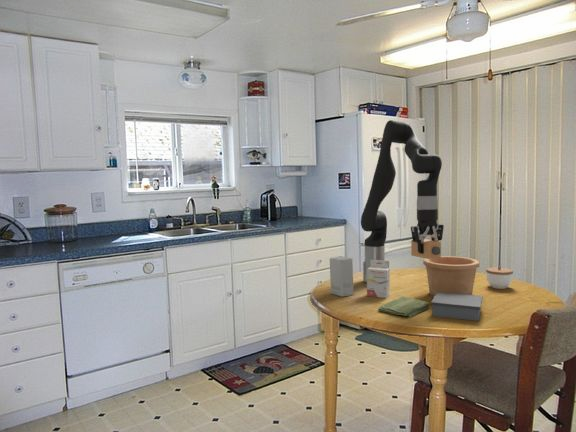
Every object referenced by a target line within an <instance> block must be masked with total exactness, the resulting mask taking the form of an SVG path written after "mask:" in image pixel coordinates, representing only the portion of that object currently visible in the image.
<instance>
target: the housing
mask: <svg viewBox="0 0 576 432" xmlns="http://www.w3.org/2000/svg"><path fill="white" fill-rule="evenodd" d="M410 243H411V246H410V247H411V248H410V249H411V252H410V253H411V255H410V256H413V257H418V258H421V259H425V258H426V259H435V258H441V256H442V250H441V249H442V241H432V240H431V239H426V238H425V239H424V242H423V244H424V253H423V254H420V253H419V252H418V244H417V243H416V242H413V239H411V241H410Z"/></svg>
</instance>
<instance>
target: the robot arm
mask: <svg viewBox="0 0 576 432" xmlns="http://www.w3.org/2000/svg"><path fill="white" fill-rule="evenodd" d="M381 138H382V139H381V143H380V148H379V149H380V151H379V155H378V160H377V164H376V166H375V170H374V174H373V176H372V177H373V178H372V181H371V187H370V190H369V192H368V198H367V200H366V203H365V206H364V208H363V210H362V211H363V212H362V214H361V218H360V225H361V229H362V230H363V231H364V232H371V233H370V235H369V236H368V237H366V238H365V239H364V242H363V243H364V261H363V263H362V268H363V269H362V271H363V272H362V275H363V277H362V282H363V283H366V284H367V269H368V268H369V267H370V260H384V261H386V260H385V255H386V253H385V251H386V249H385V243H386V240H387V232H388V219H387V216H386V214H385V212H384V211H381V210H379V208H380V205H382V203H383V201H384V200H385V198H386V197H387V196H388V195H389V193H390V192H391V190H392V188H393V186H394V183H395V179H396V175H397V174H396V173H397V172H396V167H395V164H394V162H393V159H392V152H391V150H392V144H393V143H394V144H400V145H401V144H404V149H403V150H404V153H405V155H406V156H407V158H408V159H409V160H410V162H411V167H412V170H413V172H414V173H417V174H418V175H419V174H421V175H422V174H428V177H427V178H426V179H422V180H419V181H417V185H416V188H417V190H416V191H417V193H416V194H417V195H416V197H417V198H416V221H417V224H416V225H414V226H410V232H411V240H413V242H416V243H417V244H418V252H419V253H420V254H423V253H424V244H423V242H424V239H426V238H427V236H428V237H430V240H432V241H438V242H441V241H442V240H443V234H444V227H445V226H444V224H440V223H438V222H437V221H438V219H439V213H438V210H439V208H438V205H439V203H438V189H437V188H438V182H439V177H440V173H441V170H442V166H443V164H442V158H441V157H440V155H438V154H432V153H431V154H429V151H428V150H427V148H426V147H425V146H424V145H423V144H422V143H421V142H420V140H419V139H418V136H417V135H416V133H415V131H414V128H413V127H412V125H410V123H408V122H406V121H399V120H392V119H390V120H388V121H387V122H386V124H385V126H384V129H383V134H382V137H381ZM376 264H383V263H380V262H379V263H376Z"/></svg>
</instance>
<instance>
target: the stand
mask: <svg viewBox="0 0 576 432" xmlns="http://www.w3.org/2000/svg"><path fill="white" fill-rule="evenodd" d="M483 299H484V297H483V295H479V294H472V295H469V294H458V293H447V292H437V293H436V295H435V297H434V296H433V298H432V300H431V302H430V305H431V306H432V316H433V317H439V318H441V317H442V318H447V319H448V318H449V319H458V320H467V321H475V322H476V321H477V322H479V320H480V315H481V312H482V311H481V310H482V302H483Z"/></svg>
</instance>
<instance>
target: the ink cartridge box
mask: <svg viewBox="0 0 576 432" xmlns="http://www.w3.org/2000/svg"><path fill="white" fill-rule="evenodd" d="M379 262H380V263H383V264H376V263H379ZM390 272H391V269H390V260H385V261H384V260H370V267H369V268H368V269H367V283H366V296H367V297H374V298H381V299H382V298H384V299H388V298H389V296H390V281H391V280H390V279H391V276H390V275H391V274H390Z"/></svg>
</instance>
